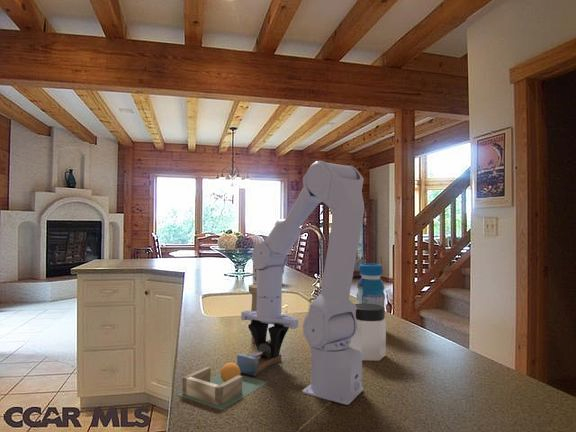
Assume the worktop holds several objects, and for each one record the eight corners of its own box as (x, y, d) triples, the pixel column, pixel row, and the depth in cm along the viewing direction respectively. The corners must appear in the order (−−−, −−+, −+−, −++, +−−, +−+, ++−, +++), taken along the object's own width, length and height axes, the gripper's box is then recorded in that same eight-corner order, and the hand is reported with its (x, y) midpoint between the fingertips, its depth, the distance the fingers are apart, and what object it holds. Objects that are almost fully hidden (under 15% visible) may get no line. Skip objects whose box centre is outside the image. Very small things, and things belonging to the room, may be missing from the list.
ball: (244, 382, 79) (244, 362, 80) (231, 389, 76) (232, 368, 76) (229, 377, 82) (229, 358, 82) (216, 384, 78) (216, 364, 78)
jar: (381, 350, 101) (382, 303, 102) (389, 361, 93) (390, 310, 93) (346, 349, 101) (347, 302, 102) (351, 360, 93) (352, 310, 94)
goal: (242, 392, 75) (242, 376, 75) (219, 405, 69) (219, 388, 69) (206, 381, 79) (206, 366, 79) (182, 393, 74) (182, 377, 74)
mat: (267, 383, 80) (267, 382, 80) (222, 411, 68) (222, 410, 68) (225, 372, 85) (225, 370, 85) (176, 396, 73) (176, 394, 73)
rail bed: (281, 360, 93) (281, 353, 93) (254, 375, 84) (254, 367, 84) (271, 358, 94) (272, 351, 94) (245, 372, 85) (245, 365, 85)
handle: (260, 337, 111) (261, 284, 111) (270, 343, 106) (271, 287, 106) (244, 339, 109) (245, 285, 109) (253, 346, 103) (254, 288, 103)
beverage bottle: (373, 336, 114) (374, 266, 114) (350, 329, 120) (351, 264, 120) (390, 331, 119) (390, 265, 120) (367, 325, 126) (368, 262, 126)
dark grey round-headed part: (265, 357, 93) (265, 337, 93) (281, 360, 91) (282, 340, 91) (237, 371, 84) (237, 349, 84) (254, 376, 82) (254, 353, 82)
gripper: (305, 296, 90) (304, 356, 90) (253, 290, 98) (253, 345, 98) (289, 301, 84) (288, 365, 84) (235, 294, 92) (235, 353, 92)
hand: (268, 355), depth 90 cm, fingers closed on dark grey round-headed part, 3 cm apart
